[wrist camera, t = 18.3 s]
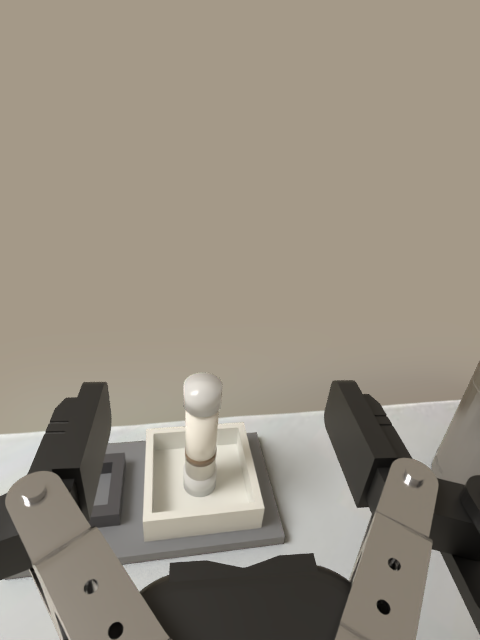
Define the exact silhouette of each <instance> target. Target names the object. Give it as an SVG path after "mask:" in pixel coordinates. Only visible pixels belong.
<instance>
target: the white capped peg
mask: <svg viewBox="0 0 480 640" xmlns="http://www.w3.org/2000/svg"><path fill="white" fill-rule="evenodd" d="M221 398H222V381H221V380H220V378H218V377H217V376H215V375H213V374H211V373H203V372H202V373H195V374H192V375H190V376H189V377H188V378H186V380H185V381H184V408H185V410H186V433H185V464H184V468H183V486H184V489H185V491H186V492H187V493H188V494H189V495H191V496H194V497H205V496H207V495H209V494H210V493H212V492H213V490H214V489H215V486H216V475H217V465H216V463H215V461H216V453H217V447H216V446H217V430H218V413H219V409H220V408H221Z"/></svg>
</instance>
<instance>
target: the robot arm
mask: <svg viewBox="0 0 480 640" xmlns="http://www.w3.org/2000/svg"><path fill="white" fill-rule="evenodd" d="M324 421H325V427H326V430H327V433H328V435H329V438H330V440H331V443H332V445H333V448H334V450H335V453H336V455H337V458H338V461H339V463H340V466H341V468H342V471H343V473H344V476H345V478H346V481H347V483H348V486H349V489H350V491H351V494H352V496H353V499H354V501H355V504H356V506H357V508H361V507H369V508H370V511H371V513H372V515H371V518H370V521H369V524H368V526H367V529H366V532H365V535H364V538H363V541H362V544H361V547H360V550H359V553H358V556H357V559H356V562H355V564H354V567H353V570H352V573H351V576H350V578H349V581H348V580H347V579H346V578H344V577H343V576H341V575H340V574H338V573H336V572H334V571H332V570H330V569H327V568H324V567H322V566H317V565H316V562H315V558H314V554H313V553H309V554H295V555H280V556H277V557H274V558H271V559H268V560H266V561H263V562H260V563H257V564H255V565H252V566H249V567H246V568H241V567H236V566H231V565H226V564H221V563H216V562H211V561H207V560H206V561H191V562H176V563H170V571H169V575H167V576H165V577H162V578H160V579H158V580H156V581H154V582H152V583H151V584H149V585H148V586H146V587H145V588H144V589H142V590H141V591H140V592H139V591H138V589H137V587H136V586H135V584H134V583H133V581H132V580H131V578H130V577H129V575H128V573H127V572H126V570H125V569H124V567H123V566H122V564H121V563H120V561H119V560H118V558H117V556H116V555H115V553H114V552H113V550H112V549H111V547H110V546H109V544H108V542H107V541H106V539H105V538H104V536H103V535H102V533H101V532H100V530H99V529H98V528H97V527H96V526H93V527H91V526H90V524H89V523H88V521H90V518H91V514H92V509H93V505H94V501H95V496H96V492H97V488H98V484H99V479H100V475H101V471H102V466H103V462H104V458H105V453H106V449H107V445H108V440H109V436H110V431H111V409H110V401H109V392H108V385H107V383H106V382H84V383H83V384H82V386H81V389H80V392H79V395H78V397H77V398H65V399H64V400H63V401H62V402H61V403H60V405H58V406H57V407H56V408H55V410H54V413H53V415H52V418H51V420H50V424H49V425H48V427H47V429H46V433H45V434H44V436H43V439H42V441H41V443H40V446H39V448H38V451H37V453H36V455H35V458H34V460H33V463H32V465H31V467H30V470H29V472H28V474H27V475H26V476H24V477H22V478H21V479H19V480H18V481H17V482H16V483H15V484H13V486H12V487H11V488H10V489H9V491H8V493H6V494H4V495H2V496H0V580H2V579H5V578H8V577H10V576H13V575H15V574H18V573H21V572H23V571H26V570H29V571H30V573H31V576H32V578H33V580H34V582H35V584H36V586H37V589H38V591H39V593H40V595H41V597H42V600H43V602H44V604H45V606H46V608H47V610H48V613H49V615H50V617H51V619H52V621H53V624H54V626H55V628H56V631H57V633H58V636H59V638H60V640H416V635H417V629H418V623H419V618H420V612H421V606H422V601H423V595H424V589H425V584H426V578H427V572H428V567H429V561H430V556H431V550H432V549H434V550H437V551H440V552H441V554H442V556H443V559H444V561H445V563H446V565H447V567H448V569H449V571H450V573H451V575H452V577H453V580H454V582H455V584H456V586H457V588H458V590H459V592H460V594H461V596H462V598H463V601H464V603H465V605H466V607H467V609H468V611H469V613H470V615H471V617H472V619H473V622H474V624H475V626H476V628H477V630H478V632H479V634H480V361H479V363H478V366H477V367H476V370H475V372H474V374H473V376H472V378H471V380H470V383H469V385H468V387H467V389H466V391H465V393H464V395H463V398H462V400H461V402H460V404H459V406H458V408H457V410H456V412H455V414H454V417H453V419H452V421H451V423H450V425H449V427H448V429H447V432H446V434H445V436H444V438H443V440H442V442H441V444H440V446H439V448H438V450H437V452H436V455H435V457H434V459H433V462H432V470H431V469H430V468H429V467H427V466H426V465H425V464H423V463H421V462H419V461H417V460H414V459H412V457H411V456H410V454H409V452H408V450H407V449H406V447H405V445H404V444H403V442H402V440H401V439H400V437H399V435H398V434H397V432H396V430H395V428H394V427H393V426H392V423H391V422H390V420H389V418H388V417H386V413H385V412H384V410H383V408H382V407H381V405H380V403H378V402H377V401H376V400H375V399H374V398H373V397H371V396H370V395H369V394H362V392H361V390H360V389H359V387H358V385H357V383H356V382H355V381H353V380H349V381H348V380H346V381H344V380H341V381H333V382H332V384H331V388H330V392H329V396H328V400H327V404H326V408H325V413H324Z"/></svg>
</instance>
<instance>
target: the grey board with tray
mask: <svg viewBox="0 0 480 640" xmlns="http://www.w3.org/2000/svg"><path fill="white" fill-rule="evenodd" d="M185 433H186V426H183V427H169V428H154V429H147V431H146V441H135V442H122V443H108V445H107V449H106V453H105V458H104V462H103V466H102V471H101V475H100V479H99V484H98V488H97V492H96V496H95V501H94V505H93V509H92V514H91V518H90V521H88V523H89V524H90V526H91V527H93V526H96V527H97V528H98V529H99V530H100V532H101V533H102V535H103V536H104V538H105V539H106V541H107V542H108V544H109V546H110V547H111V549H112V550H113V552H114V553H115V555H116V556H117V558H118V560H119V561H120V563H121V564H129V563H137V562H145V561H153V560H160V559H168V558H176V557H183V556H191V555H199V554H207V553H214V552H222V551H230V550H238V549H245V548H253V547H261V546H268V545H276V544H284V539H285V535H284V531H283V527H282V524H281V520H280V516H279V513H278V509H277V505H276V502H275V498H274V494H273V491H272V487H271V483H270V480H269V476H268V472H267V469H266V465H265V461H264V458H263V454H262V450H261V447H260V443H259V439H258V436H257V432H255V433H246V430H245V426H244V422H240V423H226V424H218V430H217V446H216V447H217V453H216V461H215V463H216V465H217V475H216V486H215V489H214V490H213V492H212V493H210V494H209V495H207V496H205V497H194V496H191V495H189V494H188V493H187V492H186V491H185V489H184V486H183V468H184V464H185ZM29 576H31V573H30V571H29V570H26V571H23V572H21V573H18V574H15V575H13V576H10V577H8V578H5V580H6V579H13V578H21V577H29Z"/></svg>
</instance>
